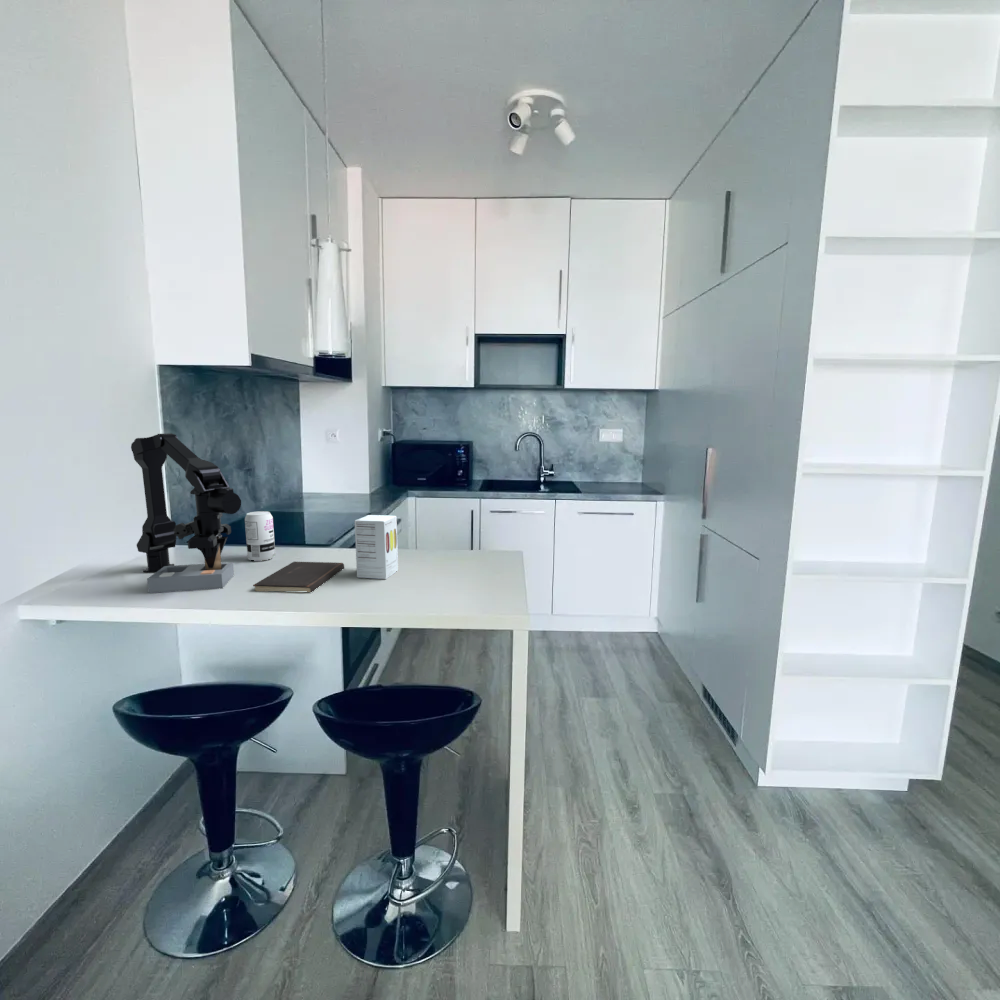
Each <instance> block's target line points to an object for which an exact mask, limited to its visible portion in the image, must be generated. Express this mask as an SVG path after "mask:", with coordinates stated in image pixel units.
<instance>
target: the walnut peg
mask: <svg viewBox="0 0 1000 1000" xmlns="http://www.w3.org/2000/svg"><path fill="white" fill-rule="evenodd" d="M203 558H204V557H203ZM221 563H222V557H221V555H220V546H219V549H218V553H217V556H216V560H215V563H214V567H213V568H209V567H208V565H207V563H206V560H205V558H204V564H205V570H221V569H222V568H221Z"/></svg>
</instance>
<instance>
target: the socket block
mask: <svg viewBox="0 0 1000 1000" xmlns="http://www.w3.org/2000/svg"><path fill="white" fill-rule="evenodd" d="M221 568H222V569H221V570H205V563H196V564H195V563H193V564H192V563H191V564H179V565H176V564H174V566H164V567H163V568H161V569H160V570H158V571H157V572H153V574H151V575H149V576H148V577H147V578H146V580H147V589H148V594H156V593H158V594H159V593H170V592H171V593H173V592H188V591H190V592H191V591H201V590H217V589H219V588H220V589H224V588H225V587H226V585H227V584H229V582H230V581H231V580H232V579H231V578H234V576H235V569H234V568H235V567H234V562H233V561H231V562H221ZM233 575H234V576H233ZM230 579H231V580H230ZM229 580H230V581H229ZM228 581H229V582H228ZM223 587H224V588H223Z"/></svg>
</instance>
